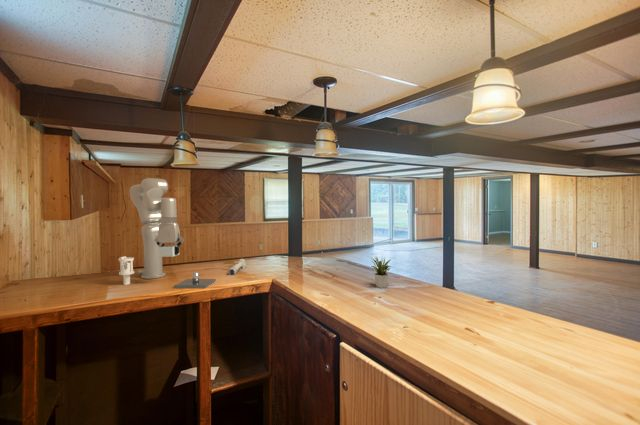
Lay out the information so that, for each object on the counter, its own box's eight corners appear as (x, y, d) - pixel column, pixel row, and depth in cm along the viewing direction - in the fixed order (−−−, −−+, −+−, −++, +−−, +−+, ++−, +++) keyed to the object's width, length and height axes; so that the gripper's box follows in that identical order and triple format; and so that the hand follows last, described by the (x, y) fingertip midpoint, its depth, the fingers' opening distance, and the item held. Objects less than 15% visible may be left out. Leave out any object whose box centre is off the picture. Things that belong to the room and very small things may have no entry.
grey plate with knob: (174, 288, 160) (174, 275, 160) (187, 281, 174) (186, 269, 174) (205, 288, 159) (205, 275, 159) (215, 281, 173) (215, 269, 173)
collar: (159, 256, 165) (159, 247, 165) (166, 254, 172) (166, 245, 172) (172, 256, 165) (172, 247, 165) (179, 254, 172) (179, 245, 172)
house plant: (360, 287, 157) (360, 255, 157) (369, 282, 169) (369, 251, 169) (388, 291, 150) (388, 256, 150) (396, 284, 163) (396, 253, 162)
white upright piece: (115, 285, 167) (115, 256, 166) (126, 282, 173) (126, 254, 173) (126, 286, 165) (126, 257, 165) (137, 282, 172) (137, 255, 171)
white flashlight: (226, 269, 190) (239, 256, 214) (227, 279, 191) (239, 266, 215) (235, 269, 189) (246, 256, 214) (236, 279, 190) (247, 266, 215)
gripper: (149, 221, 165) (149, 255, 165) (181, 220, 164) (182, 255, 164) (157, 220, 173) (157, 253, 173) (188, 220, 172) (188, 253, 172)
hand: (169, 254), depth 168 cm, fingers closed on collar, 7 cm apart
